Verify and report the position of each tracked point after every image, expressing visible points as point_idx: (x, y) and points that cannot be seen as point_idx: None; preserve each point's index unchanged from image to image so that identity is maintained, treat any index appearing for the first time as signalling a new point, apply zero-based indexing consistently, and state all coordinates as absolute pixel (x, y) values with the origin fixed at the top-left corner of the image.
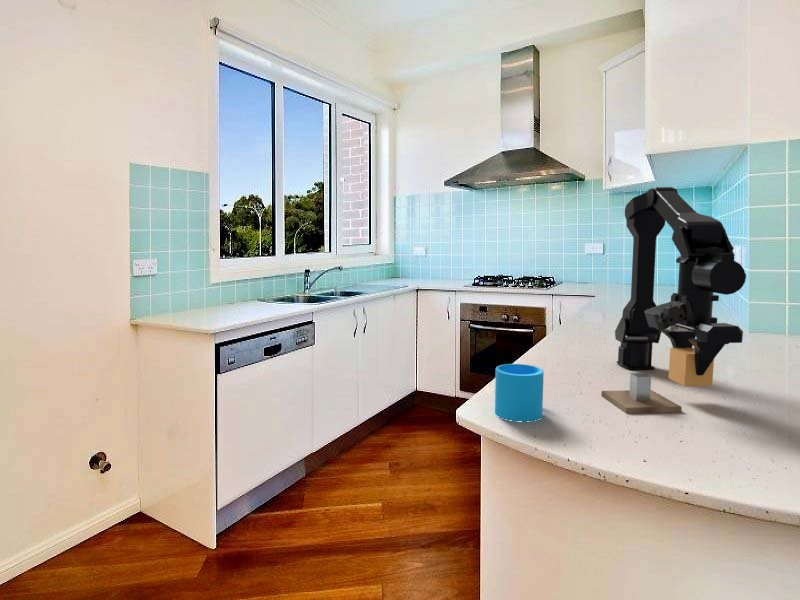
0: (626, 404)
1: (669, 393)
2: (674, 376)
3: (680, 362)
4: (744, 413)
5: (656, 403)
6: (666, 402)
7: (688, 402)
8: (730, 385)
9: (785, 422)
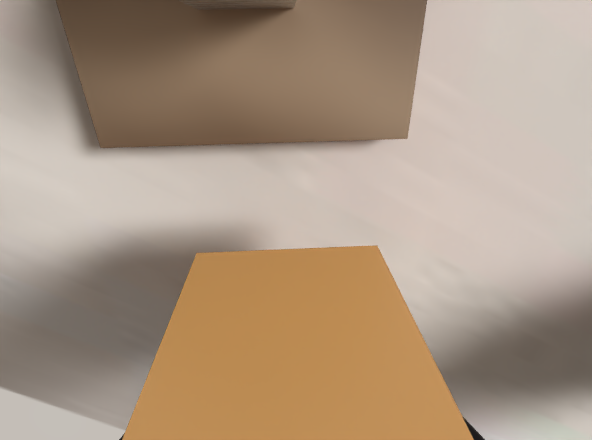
0: None
1: (404, 231)
2: (314, 267)
3: (239, 375)
4: (149, 352)
5: (134, 21)
6: (165, 101)
7: (271, 244)
8: None
9: (80, 402)
